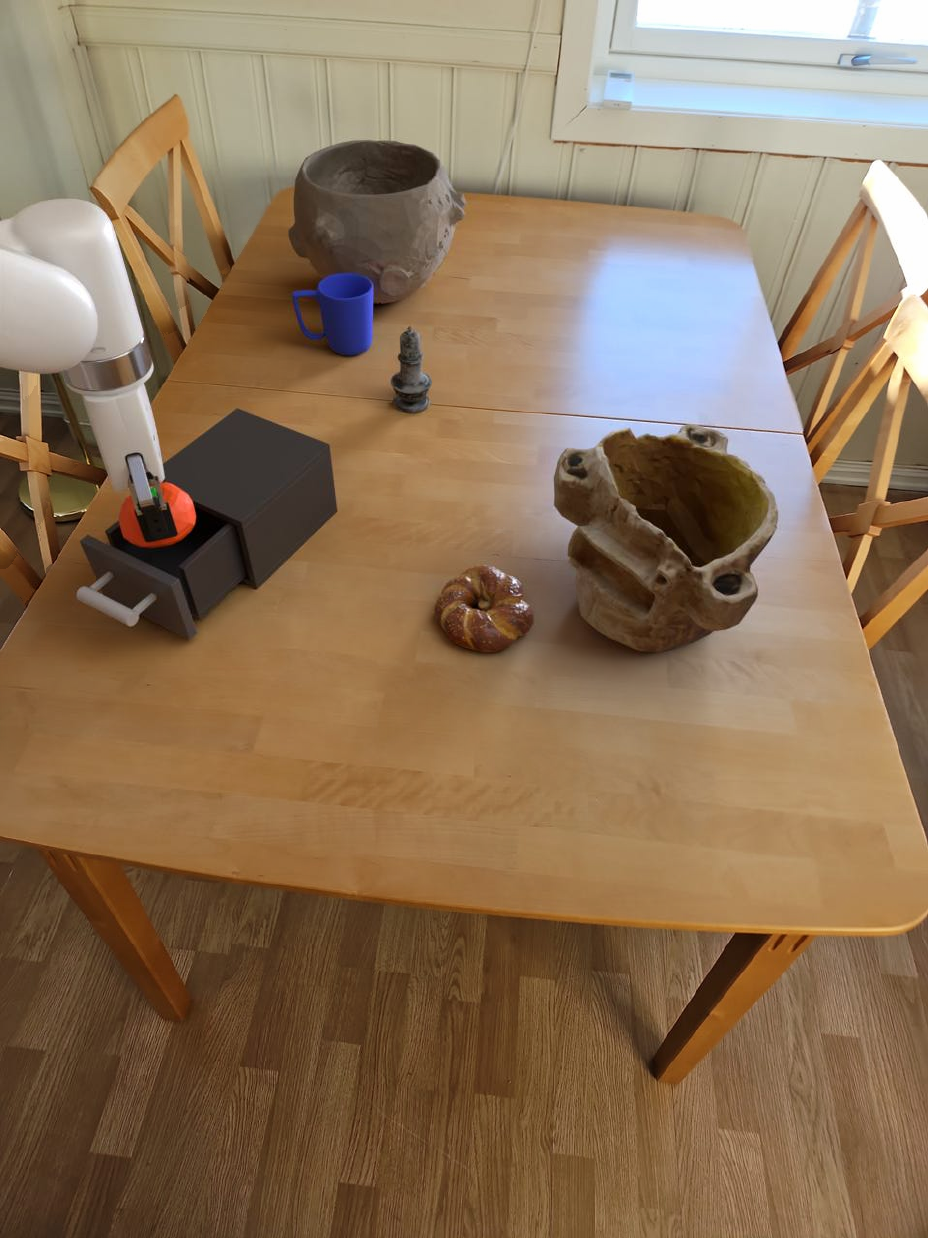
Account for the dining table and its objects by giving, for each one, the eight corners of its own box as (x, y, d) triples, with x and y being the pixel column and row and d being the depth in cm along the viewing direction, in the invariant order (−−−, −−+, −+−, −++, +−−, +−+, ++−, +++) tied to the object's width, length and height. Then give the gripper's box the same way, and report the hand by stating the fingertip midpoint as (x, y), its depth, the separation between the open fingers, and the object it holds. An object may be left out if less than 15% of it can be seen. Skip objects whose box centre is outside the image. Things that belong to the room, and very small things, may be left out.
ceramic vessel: (865, 568, 87) (836, 472, 66) (698, 726, 91) (622, 683, 71) (714, 452, 99) (649, 340, 78) (573, 596, 103) (477, 527, 83)
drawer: (161, 668, 85) (139, 614, 79) (73, 620, 89) (46, 566, 83) (275, 558, 96) (264, 503, 90) (193, 520, 100) (177, 465, 94)
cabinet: (257, 589, 94) (241, 522, 86) (166, 546, 98) (143, 478, 91) (337, 511, 103) (329, 444, 95) (251, 474, 107) (237, 407, 100)
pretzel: (431, 579, 96) (431, 556, 93) (524, 576, 97) (527, 553, 94) (437, 659, 88) (437, 637, 85) (537, 655, 89) (541, 633, 86)
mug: (299, 334, 131) (291, 273, 123) (375, 332, 132) (372, 271, 124) (298, 362, 125) (290, 300, 118) (377, 359, 127) (374, 298, 119)
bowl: (462, 332, 133) (466, 203, 118) (285, 326, 132) (266, 196, 117) (464, 255, 151) (467, 134, 136) (308, 250, 150) (294, 128, 135)
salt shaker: (437, 395, 121) (437, 319, 112) (423, 417, 117) (422, 340, 108) (400, 387, 122) (397, 311, 113) (385, 409, 118) (381, 332, 109)
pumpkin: (110, 540, 86) (91, 493, 81) (172, 501, 90) (157, 454, 85) (154, 572, 83) (137, 525, 78) (215, 530, 87) (203, 483, 82)
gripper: (52, 316, 75) (109, 470, 89) (65, 422, 65) (128, 578, 78) (137, 303, 77) (180, 456, 91) (163, 404, 67) (207, 560, 80)
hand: (156, 511), depth 84 cm, fingers closed on pumpkin, 7 cm apart
